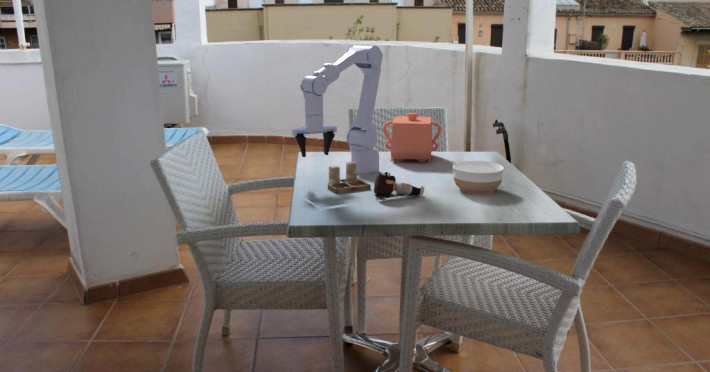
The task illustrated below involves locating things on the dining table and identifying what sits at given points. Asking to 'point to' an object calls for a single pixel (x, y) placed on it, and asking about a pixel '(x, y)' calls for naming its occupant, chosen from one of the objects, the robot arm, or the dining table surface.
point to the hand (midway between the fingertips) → (315, 155)
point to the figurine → (394, 187)
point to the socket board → (349, 187)
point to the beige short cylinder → (351, 172)
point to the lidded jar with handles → (411, 137)
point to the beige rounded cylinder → (334, 175)
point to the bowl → (477, 177)
